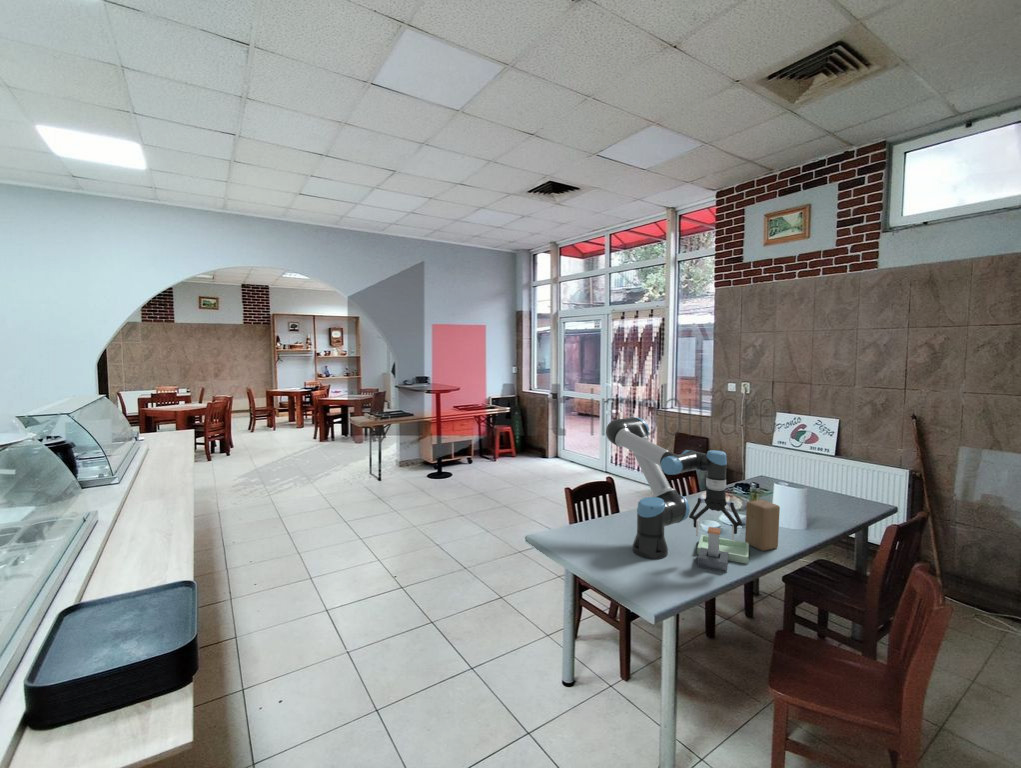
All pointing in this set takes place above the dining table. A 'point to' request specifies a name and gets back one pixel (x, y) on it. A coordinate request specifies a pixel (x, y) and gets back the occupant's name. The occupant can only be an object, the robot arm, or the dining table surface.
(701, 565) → the block
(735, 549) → the tray
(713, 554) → the pin
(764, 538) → the wooden block
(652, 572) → the dining table surface
